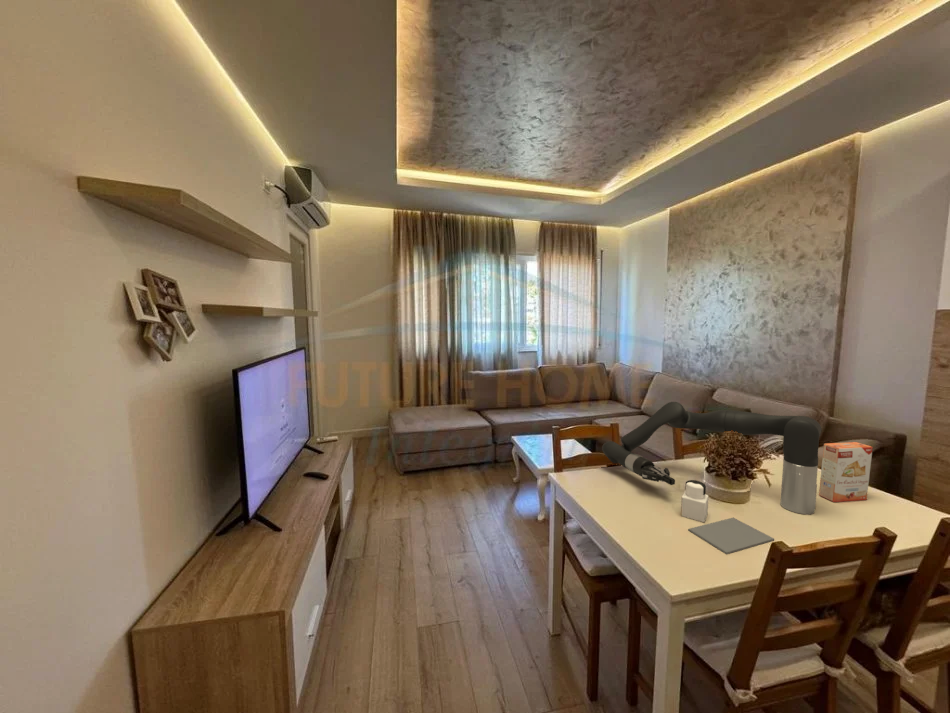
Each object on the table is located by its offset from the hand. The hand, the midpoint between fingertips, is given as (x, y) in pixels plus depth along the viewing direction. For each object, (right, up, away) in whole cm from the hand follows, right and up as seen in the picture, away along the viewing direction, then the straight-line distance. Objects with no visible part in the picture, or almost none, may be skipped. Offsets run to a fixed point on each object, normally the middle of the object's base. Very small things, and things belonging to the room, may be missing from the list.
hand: (673, 482), depth 137 cm
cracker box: (+65, -7, +2) cm, 65 cm away
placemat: (+7, -10, -20) cm, 24 cm away
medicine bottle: (+3, -9, -8) cm, 12 cm away
